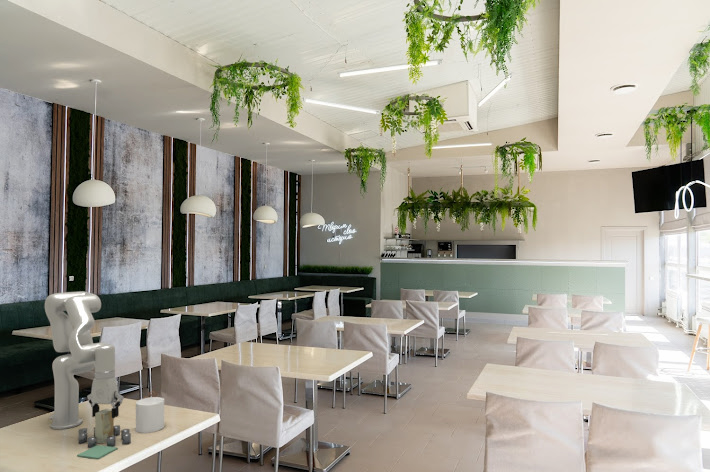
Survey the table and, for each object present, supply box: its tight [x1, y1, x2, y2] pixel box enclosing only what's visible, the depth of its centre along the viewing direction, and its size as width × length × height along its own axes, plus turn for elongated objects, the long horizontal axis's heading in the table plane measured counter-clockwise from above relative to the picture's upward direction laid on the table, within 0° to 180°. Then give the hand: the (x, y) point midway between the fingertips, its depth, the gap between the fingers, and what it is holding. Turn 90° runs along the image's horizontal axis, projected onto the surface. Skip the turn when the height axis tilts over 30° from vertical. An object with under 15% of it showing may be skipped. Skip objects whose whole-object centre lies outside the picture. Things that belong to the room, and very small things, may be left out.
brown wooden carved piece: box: [142, 390, 157, 399], centre depth 233 cm, size 9×4×12 cm, turn 122°
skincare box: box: [94, 408, 115, 444], centre depth 204 cm, size 6×4×12 cm
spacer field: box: [78, 424, 132, 449], centre depth 204 cm, size 25×16×4 cm, turn 74°
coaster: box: [76, 444, 119, 460], centre depth 192 cm, size 10×10×1 cm
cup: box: [135, 396, 165, 434], centre depth 218 cm, size 12×12×12 cm
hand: (105, 416), depth 204 cm, fingers open, 9 cm apart
